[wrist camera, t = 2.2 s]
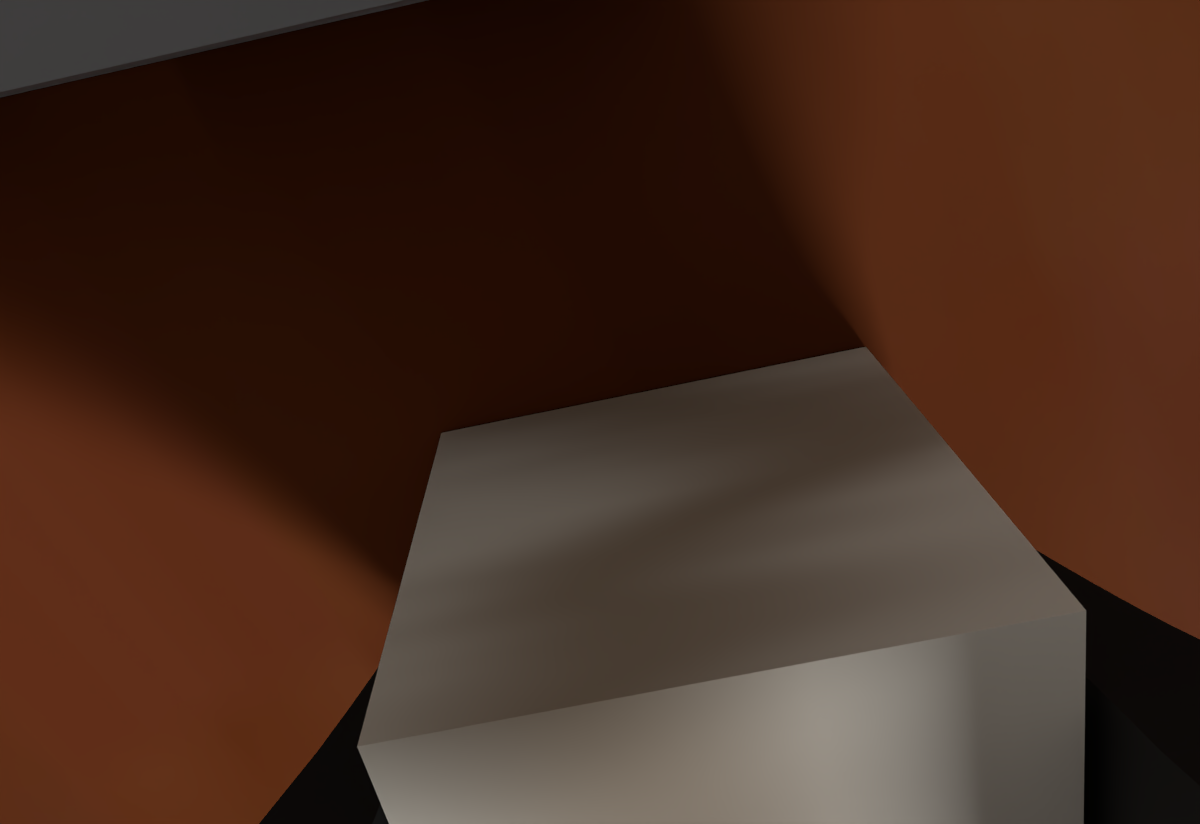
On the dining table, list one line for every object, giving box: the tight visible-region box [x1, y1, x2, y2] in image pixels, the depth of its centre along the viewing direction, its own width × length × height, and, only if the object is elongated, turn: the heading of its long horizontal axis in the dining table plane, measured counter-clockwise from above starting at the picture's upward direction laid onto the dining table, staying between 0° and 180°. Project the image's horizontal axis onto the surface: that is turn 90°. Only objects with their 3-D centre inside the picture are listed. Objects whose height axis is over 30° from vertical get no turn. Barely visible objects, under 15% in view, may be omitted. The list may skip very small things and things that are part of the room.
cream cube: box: [357, 347, 1086, 824], centre depth 10 cm, size 5×5×5 cm
